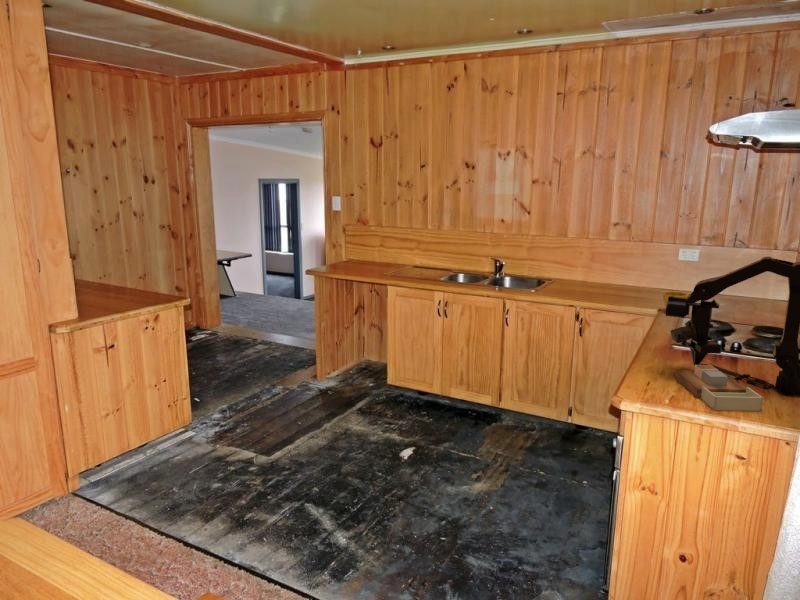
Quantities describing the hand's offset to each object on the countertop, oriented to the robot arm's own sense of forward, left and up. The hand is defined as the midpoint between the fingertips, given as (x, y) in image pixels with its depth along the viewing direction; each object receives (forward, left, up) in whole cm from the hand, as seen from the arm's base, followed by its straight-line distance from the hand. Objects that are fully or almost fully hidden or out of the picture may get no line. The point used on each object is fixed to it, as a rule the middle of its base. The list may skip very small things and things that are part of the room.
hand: (695, 365), depth 181 cm
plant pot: (-27, -87, -4) cm, 91 cm away
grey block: (0, +13, -1) cm, 13 cm away
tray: (0, +22, -4) cm, 23 cm away
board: (0, +10, -4) cm, 11 cm away
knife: (-13, -2, -5) cm, 14 cm away
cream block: (0, +7, -1) cm, 7 cm away
